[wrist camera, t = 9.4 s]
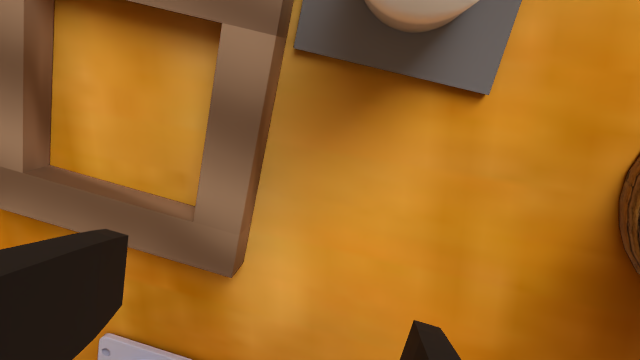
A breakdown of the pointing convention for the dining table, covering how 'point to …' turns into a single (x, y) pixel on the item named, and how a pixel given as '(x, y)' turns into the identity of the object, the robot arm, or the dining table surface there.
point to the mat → (412, 41)
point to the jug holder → (126, 203)
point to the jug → (417, 13)
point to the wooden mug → (631, 215)
